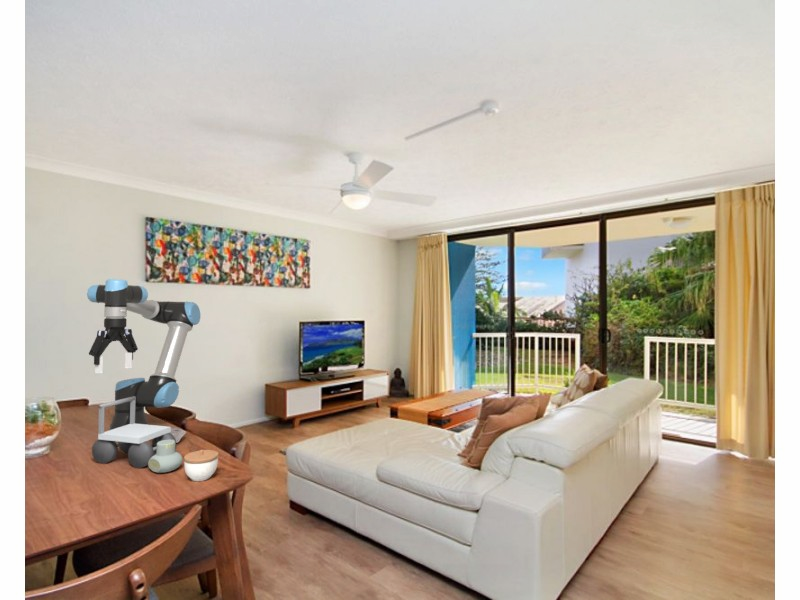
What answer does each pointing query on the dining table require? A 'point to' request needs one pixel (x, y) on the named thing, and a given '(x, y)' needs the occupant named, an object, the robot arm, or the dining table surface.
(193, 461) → the lidded jar
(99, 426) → the trolley
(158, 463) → the air freshener
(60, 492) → the dining table surface
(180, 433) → the decorative stone
